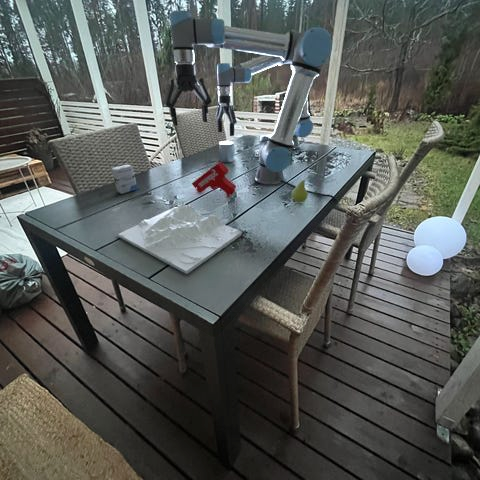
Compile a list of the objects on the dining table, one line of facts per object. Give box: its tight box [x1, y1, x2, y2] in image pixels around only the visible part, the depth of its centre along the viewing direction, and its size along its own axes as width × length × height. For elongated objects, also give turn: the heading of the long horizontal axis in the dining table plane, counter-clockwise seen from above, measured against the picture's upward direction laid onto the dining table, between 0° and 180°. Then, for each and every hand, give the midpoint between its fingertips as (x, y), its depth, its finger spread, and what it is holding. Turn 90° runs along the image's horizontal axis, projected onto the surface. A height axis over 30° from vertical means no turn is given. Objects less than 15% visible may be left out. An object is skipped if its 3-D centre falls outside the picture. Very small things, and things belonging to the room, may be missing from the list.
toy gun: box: [191, 160, 237, 197], centre depth 128 cm, size 18×4×15 cm
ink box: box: [110, 164, 138, 195], centre depth 131 cm, size 8×5×12 cm, turn 135°
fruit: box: [291, 174, 311, 204], centre depth 118 cm, size 7×8×12 cm
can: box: [218, 140, 235, 164], centre depth 173 cm, size 9×9×11 cm
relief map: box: [117, 202, 243, 275], centre depth 96 cm, size 27×35×5 cm
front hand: (190, 123), depth 115 cm, fingers open, 13 cm apart
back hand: (225, 133), depth 167 cm, fingers open, 13 cm apart
